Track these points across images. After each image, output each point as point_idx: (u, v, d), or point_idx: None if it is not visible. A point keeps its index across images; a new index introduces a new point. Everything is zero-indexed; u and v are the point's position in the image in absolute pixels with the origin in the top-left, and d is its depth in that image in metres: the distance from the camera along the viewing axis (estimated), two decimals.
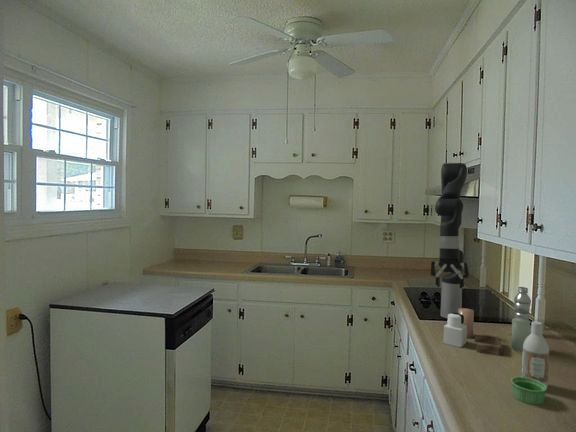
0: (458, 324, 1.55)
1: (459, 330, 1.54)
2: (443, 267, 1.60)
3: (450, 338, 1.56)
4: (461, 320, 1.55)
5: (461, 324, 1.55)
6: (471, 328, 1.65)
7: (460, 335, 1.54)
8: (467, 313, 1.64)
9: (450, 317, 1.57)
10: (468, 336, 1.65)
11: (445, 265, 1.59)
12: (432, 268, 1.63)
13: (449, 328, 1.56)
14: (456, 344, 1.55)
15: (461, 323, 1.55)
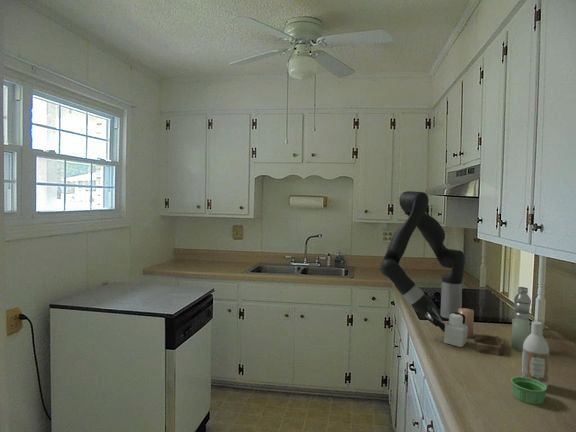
0: (459, 324, 1.55)
1: (460, 330, 1.54)
2: None
3: (450, 337, 1.56)
4: (462, 320, 1.55)
5: (462, 324, 1.55)
6: (471, 328, 1.65)
7: (461, 335, 1.53)
8: (467, 313, 1.64)
9: (452, 317, 1.56)
10: (468, 336, 1.65)
11: None
12: None
13: (450, 328, 1.56)
14: (457, 344, 1.55)
15: (462, 323, 1.55)
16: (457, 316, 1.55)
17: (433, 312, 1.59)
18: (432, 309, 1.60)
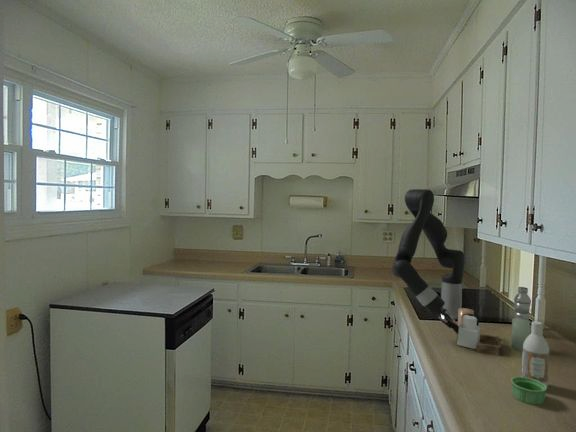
0: (474, 326, 1.53)
1: (475, 332, 1.52)
2: None
3: (464, 339, 1.54)
4: (477, 322, 1.53)
5: (476, 326, 1.53)
6: None
7: (476, 337, 1.52)
8: (467, 313, 1.64)
9: (466, 319, 1.54)
10: None
11: None
12: None
13: (464, 330, 1.54)
14: (471, 346, 1.53)
15: (476, 325, 1.53)
16: (471, 318, 1.53)
17: (447, 314, 1.57)
18: (445, 311, 1.58)
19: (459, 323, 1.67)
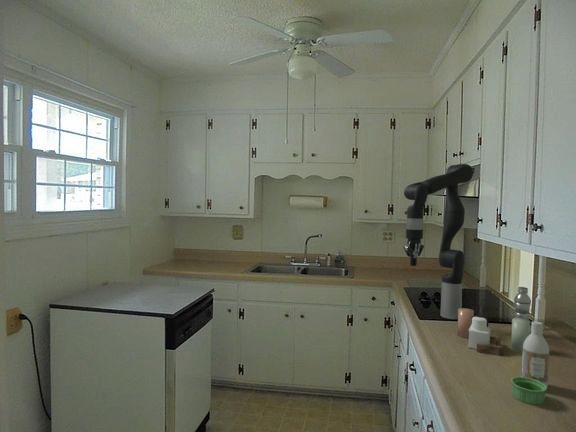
0: (484, 327, 1.52)
1: (486, 334, 1.50)
2: None
3: (475, 342, 1.52)
4: (486, 323, 1.52)
5: (486, 327, 1.52)
6: None
7: (487, 339, 1.50)
8: (467, 313, 1.64)
9: (475, 320, 1.53)
10: None
11: None
12: None
13: (475, 332, 1.52)
14: None
15: (486, 326, 1.52)
16: (481, 319, 1.52)
17: (414, 246, 1.78)
18: (416, 244, 1.78)
19: (459, 323, 1.67)
